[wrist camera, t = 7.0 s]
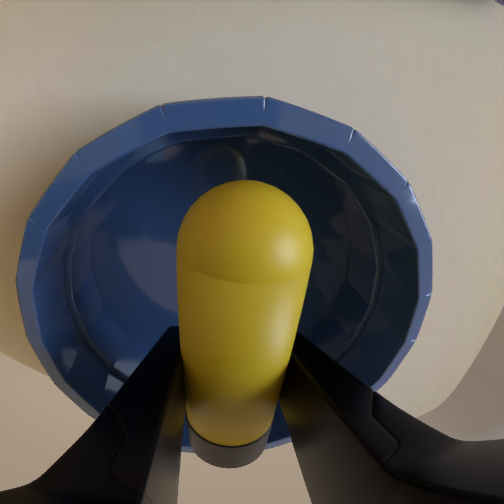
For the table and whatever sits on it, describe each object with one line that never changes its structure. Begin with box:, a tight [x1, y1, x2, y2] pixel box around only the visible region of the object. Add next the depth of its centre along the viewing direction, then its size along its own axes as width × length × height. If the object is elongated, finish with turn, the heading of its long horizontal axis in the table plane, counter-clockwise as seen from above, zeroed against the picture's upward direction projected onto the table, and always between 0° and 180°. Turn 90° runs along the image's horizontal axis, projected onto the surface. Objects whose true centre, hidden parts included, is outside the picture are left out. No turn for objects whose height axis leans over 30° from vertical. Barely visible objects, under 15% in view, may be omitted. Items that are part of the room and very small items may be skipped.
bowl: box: [16, 96, 433, 453], centre depth 10 cm, size 12×12×5 cm
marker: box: [176, 180, 314, 468], centre depth 7 cm, size 9×3×3 cm, turn 174°
